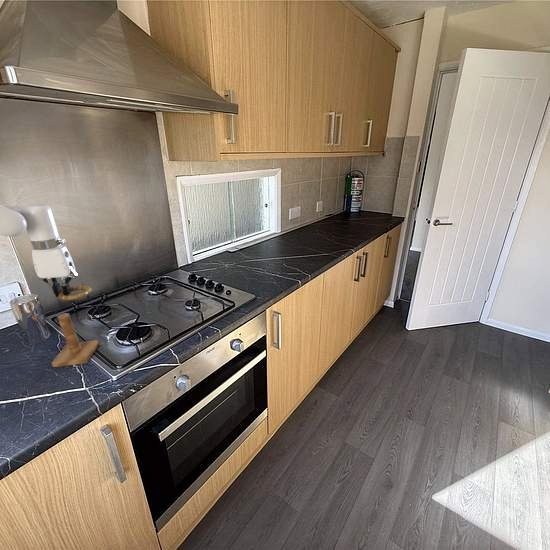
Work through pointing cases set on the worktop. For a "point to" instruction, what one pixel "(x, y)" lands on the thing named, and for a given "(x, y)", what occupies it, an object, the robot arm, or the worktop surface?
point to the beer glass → (31, 317)
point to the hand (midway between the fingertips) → (63, 294)
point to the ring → (77, 296)
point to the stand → (73, 345)
